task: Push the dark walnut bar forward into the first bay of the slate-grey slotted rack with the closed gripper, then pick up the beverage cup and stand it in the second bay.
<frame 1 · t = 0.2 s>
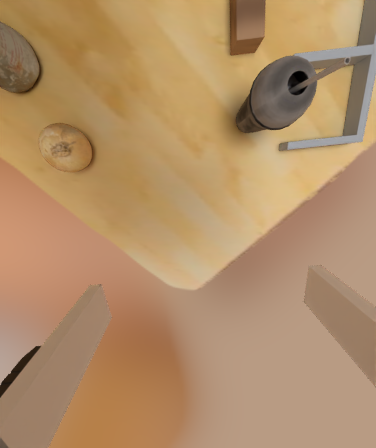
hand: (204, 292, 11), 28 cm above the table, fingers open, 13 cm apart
onion: (76, 150, 34), on the table
walnut bar: (242, 27, 29), on the table
slot rack: (320, 64, 30), on the table
bottle: (17, 65, 30), on the table
beverage cup: (247, 119, 33), on the table
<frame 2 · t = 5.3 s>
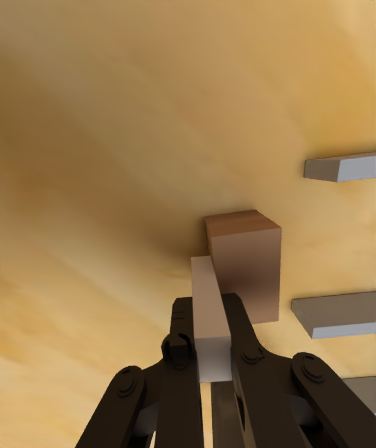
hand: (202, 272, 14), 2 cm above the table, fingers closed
walnut bar: (232, 252, 15), on the table, touching gripper
slot rack: (356, 298, 17), on the table
beverage cup: (230, 358, 20), on the table
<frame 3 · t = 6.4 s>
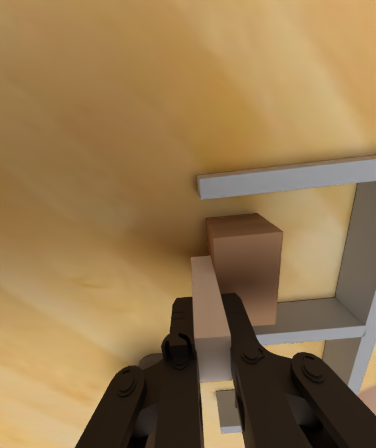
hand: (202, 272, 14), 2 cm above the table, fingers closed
walnut bar: (232, 254, 15), on the table, touching gripper
slot rack: (271, 308, 17), on the table
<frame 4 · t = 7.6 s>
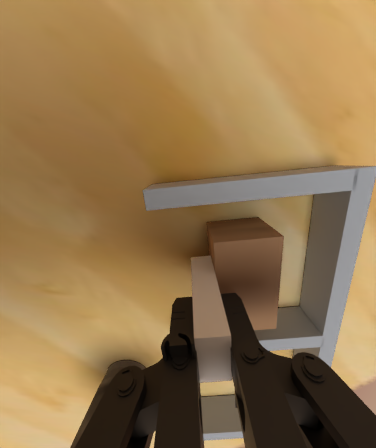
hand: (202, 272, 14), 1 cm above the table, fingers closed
walnut bar: (232, 258, 15), on the table
slot rack: (237, 316, 17), on the table
beverage cup: (128, 372, 20), on the table
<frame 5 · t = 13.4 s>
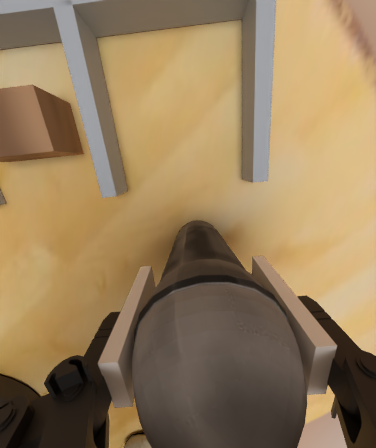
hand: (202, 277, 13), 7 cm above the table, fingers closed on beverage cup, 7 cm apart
walnut bar: (40, 134, 16), on the table
slot rack: (107, 123, 16), on the table
bottle: (149, 440, 32), on the table
beverage cup: (197, 239, 19), on the table, touching gripper
when the fingers open (9 cm above the table, at t = 18.1 s): beverage cup drops 2 cm, on the table.
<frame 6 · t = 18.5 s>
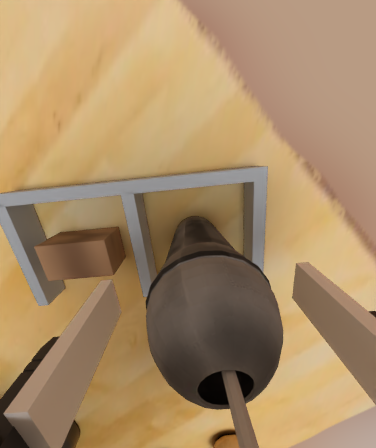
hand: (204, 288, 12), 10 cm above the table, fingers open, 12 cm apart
onion: (228, 437, 36), on the table
walnut bar: (94, 244, 22), on the table
slot rack: (145, 238, 21), on the table
beverage cup: (194, 233, 21), on the table
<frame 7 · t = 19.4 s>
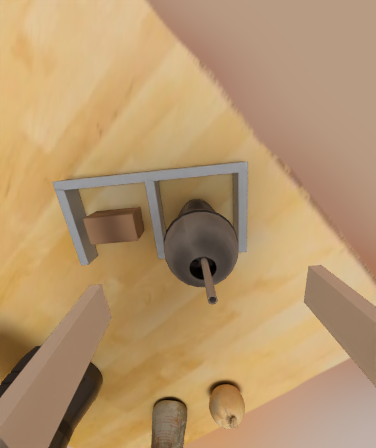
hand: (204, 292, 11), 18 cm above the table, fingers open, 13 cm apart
onion: (224, 388, 43), on the table
walnut bar: (121, 221, 29), on the table
slot rack: (159, 216, 28), on the table
bottle: (170, 405, 46), on the table
beverage cup: (196, 212, 28), on the table
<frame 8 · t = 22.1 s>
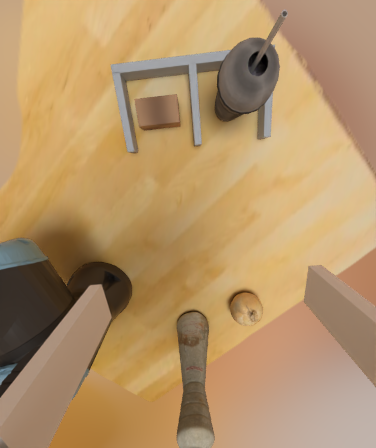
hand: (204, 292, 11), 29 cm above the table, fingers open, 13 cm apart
onion: (242, 299, 48), on the table
walnut bar: (160, 116, 34), on the table
slot rack: (194, 110, 33), on the table
bottle: (192, 321, 50), on the table
beverage cup: (226, 108, 33), on the table
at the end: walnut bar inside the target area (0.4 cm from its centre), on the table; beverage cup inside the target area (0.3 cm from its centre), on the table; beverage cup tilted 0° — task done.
